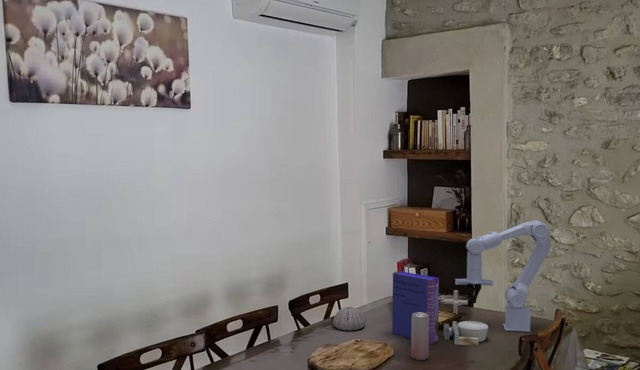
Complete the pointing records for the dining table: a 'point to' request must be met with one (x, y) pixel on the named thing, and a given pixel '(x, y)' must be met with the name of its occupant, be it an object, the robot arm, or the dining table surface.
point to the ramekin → (473, 329)
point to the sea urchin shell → (349, 319)
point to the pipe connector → (455, 302)
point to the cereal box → (414, 302)
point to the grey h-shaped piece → (451, 332)
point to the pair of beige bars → (468, 341)
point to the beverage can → (420, 336)
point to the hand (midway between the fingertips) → (473, 302)
